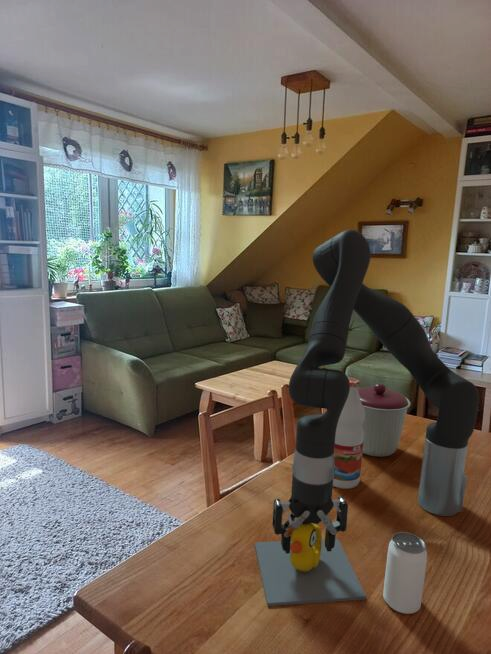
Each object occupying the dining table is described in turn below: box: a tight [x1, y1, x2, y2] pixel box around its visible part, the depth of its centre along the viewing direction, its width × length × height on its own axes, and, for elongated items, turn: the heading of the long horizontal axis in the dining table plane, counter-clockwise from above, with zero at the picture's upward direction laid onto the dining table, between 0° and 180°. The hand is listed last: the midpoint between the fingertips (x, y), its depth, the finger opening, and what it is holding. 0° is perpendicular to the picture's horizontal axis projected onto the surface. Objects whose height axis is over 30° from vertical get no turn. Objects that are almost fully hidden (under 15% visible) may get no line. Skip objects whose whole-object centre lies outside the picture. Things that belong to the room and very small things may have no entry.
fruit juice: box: [333, 377, 365, 490], centre depth 120 cm, size 9×9×28 cm
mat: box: [254, 537, 367, 607], centre depth 89 cm, size 18×16×1 cm
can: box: [382, 531, 428, 615], centre depth 81 cm, size 6×6×12 cm
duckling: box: [290, 523, 323, 572], centre depth 88 cm, size 11×5×10 cm, turn 149°
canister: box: [358, 382, 411, 458], centre depth 139 cm, size 18×18×21 cm
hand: (307, 549), depth 88 cm, fingers open, 7 cm apart
